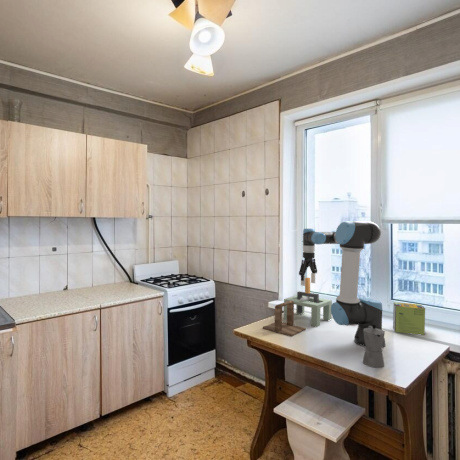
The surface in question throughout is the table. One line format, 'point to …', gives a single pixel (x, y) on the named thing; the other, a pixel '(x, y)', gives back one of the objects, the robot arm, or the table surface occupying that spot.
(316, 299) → the dark grey arch
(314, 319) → the pale green table
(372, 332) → the coffeepot
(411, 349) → the table surface
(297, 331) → the walnut rack
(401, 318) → the protein box
